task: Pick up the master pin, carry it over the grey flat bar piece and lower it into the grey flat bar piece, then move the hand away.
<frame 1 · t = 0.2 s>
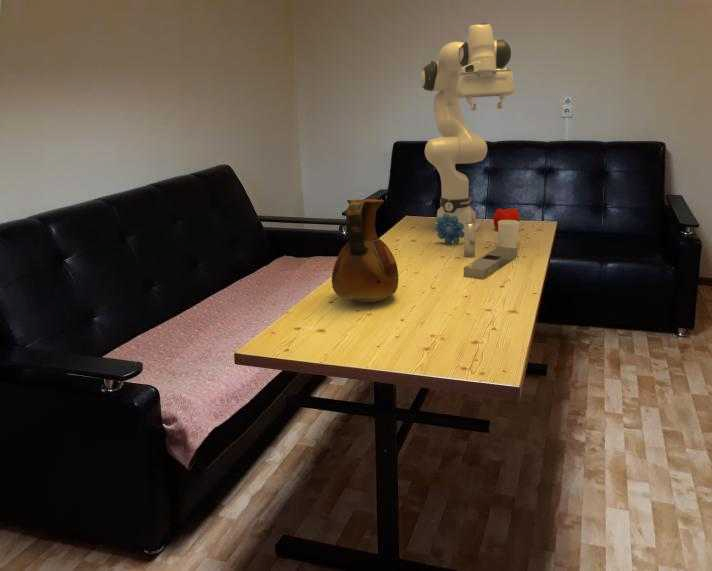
hand: (486, 109, 239), 52 cm above the table, tool tilted 20°, fingers open, 8 cm apart
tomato: (506, 230, 289), on the table
grey flat bar piece: (491, 266, 236), on the table
ceramic pitcher: (365, 298, 205), on the table
grapes: (448, 244, 267), on the table
white cup: (507, 248, 260), on the table
master pin: (469, 256, 250), on the table
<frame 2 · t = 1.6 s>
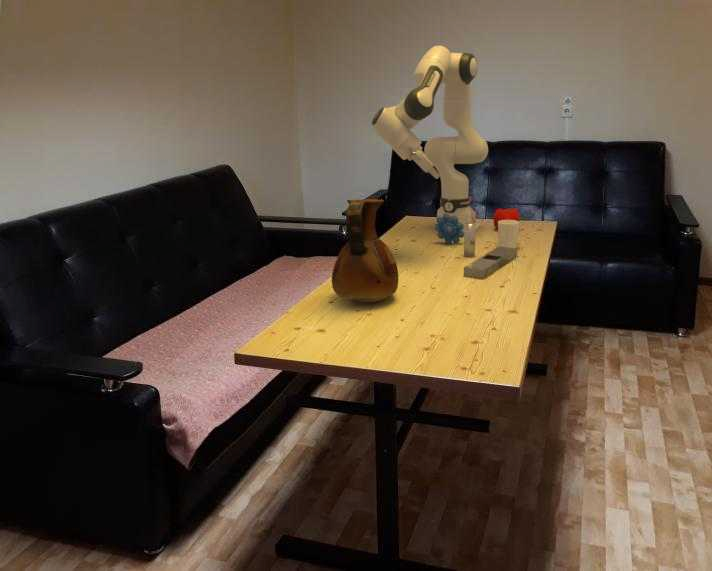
hand: (436, 175, 241), 29 cm above the table, tool tilted 45°, fingers open, 8 cm apart
nothing on the table moved.
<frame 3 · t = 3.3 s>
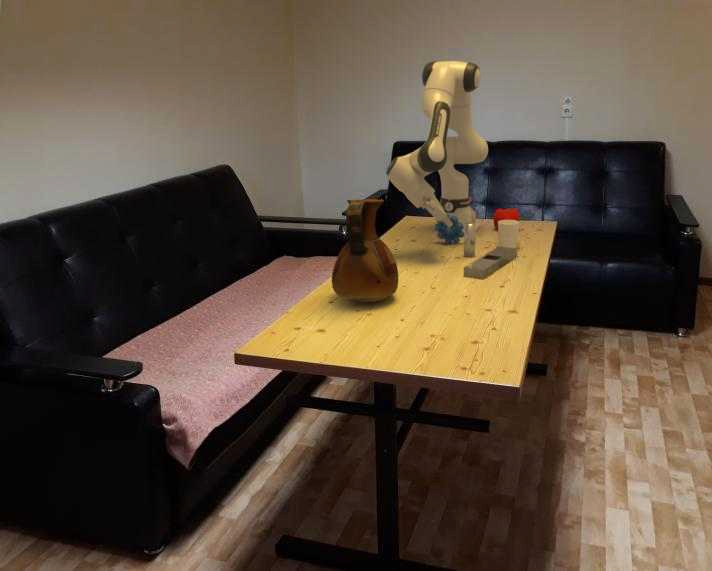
hand: (449, 222, 246), 13 cm above the table, tool tilted 45°, fingers open, 8 cm apart
nothing on the table moved.
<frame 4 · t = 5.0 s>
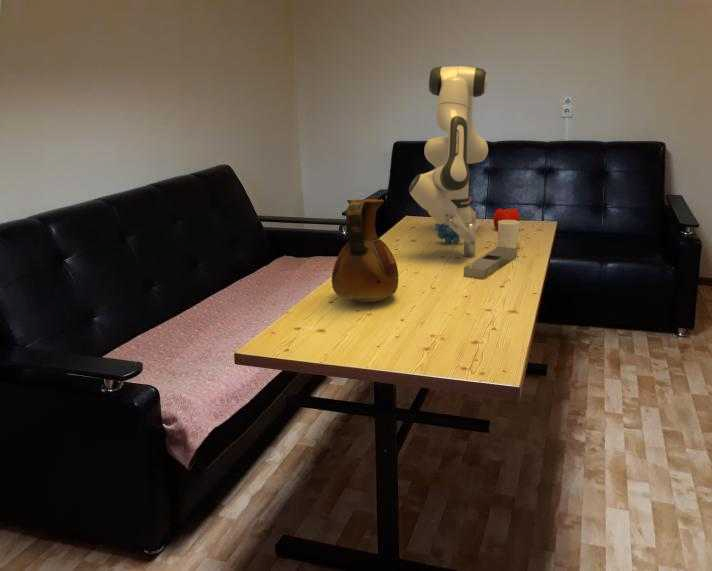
hand: (471, 238, 248), 6 cm above the table, tool tilted 45°, fingers closed on master pin, 4 cm apart
master pin: (469, 256, 250), on the table, touching gripper
everything else where it was.
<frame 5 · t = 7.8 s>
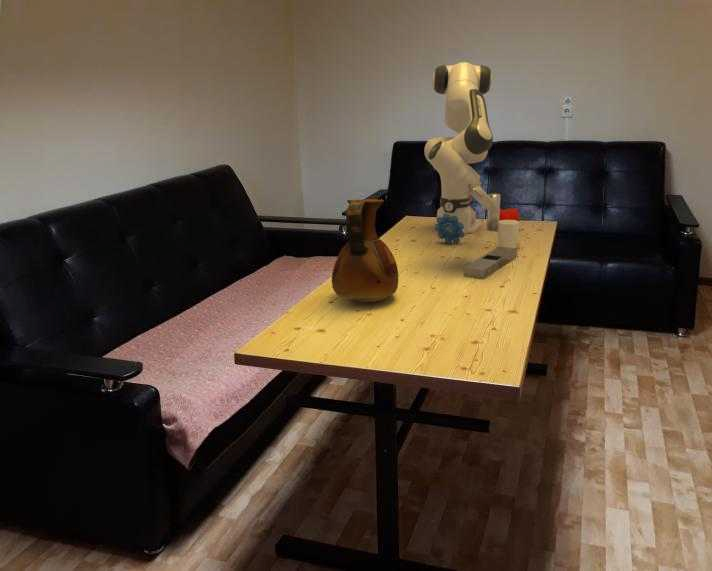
hand: (495, 211, 231), 19 cm above the table, tool tilted 45°, fingers closed on master pin, 4 cm apart
master pin: (492, 229, 232), point 13 cm above the table, touching gripper
everything else where it was.
when the fingers open (7 cm above the table, at t = 10.8 s): master pin stays where it is, resting in grey flat bar piece.
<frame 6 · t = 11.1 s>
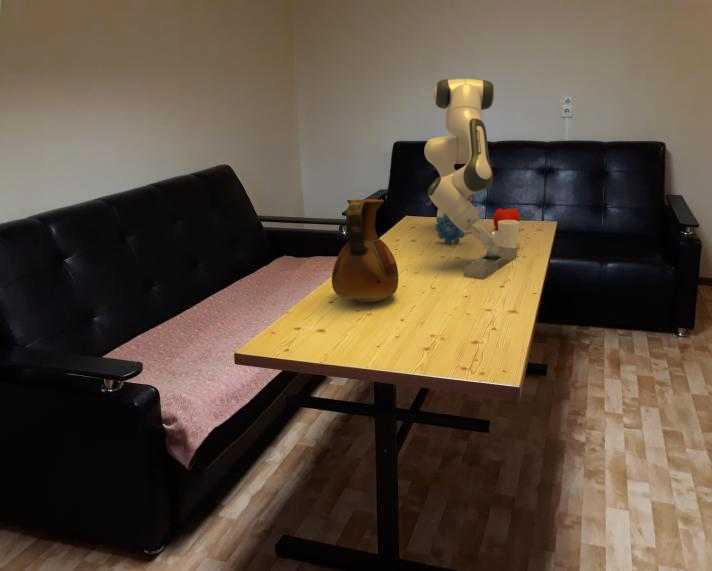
hand: (494, 245, 234), 7 cm above the table, tool tilted 45°, fingers open, 7 cm apart
master pin: (491, 265, 236), resting in grey flat bar piece
everything else where it was.
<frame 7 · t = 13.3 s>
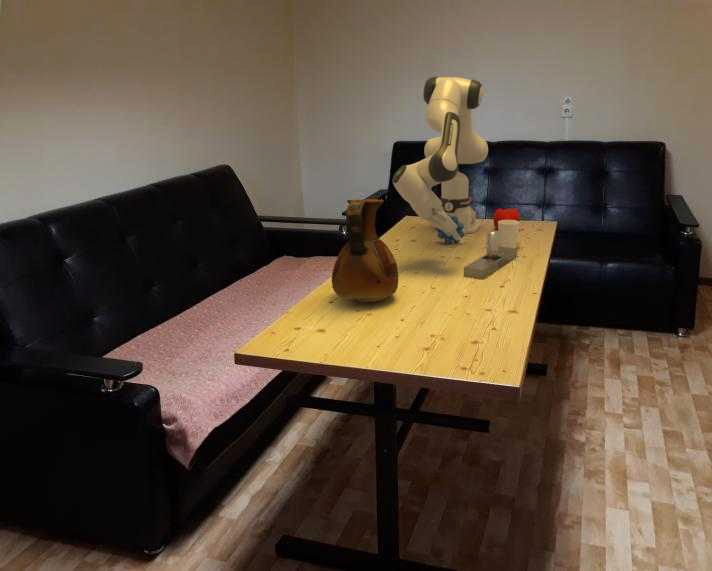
hand: (454, 236, 235), 10 cm above the table, tool tilted 40°, fingers open, 8 cm apart
nothing on the table moved.
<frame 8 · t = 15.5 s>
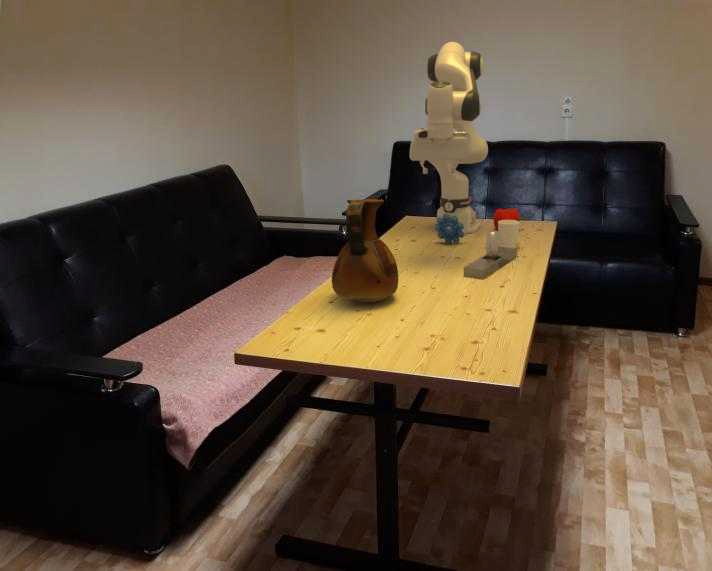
hand: (439, 173, 234), 31 cm above the table, tool pointing down, fingers open, 8 cm apart
nothing on the table moved.
at the end: master pin 0.1 cm off-centre on the grey flat bar piece, point 0.0 cm above the grey flat bar piece's base; master pin tilted 0°; the gripper is holding nothing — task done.
